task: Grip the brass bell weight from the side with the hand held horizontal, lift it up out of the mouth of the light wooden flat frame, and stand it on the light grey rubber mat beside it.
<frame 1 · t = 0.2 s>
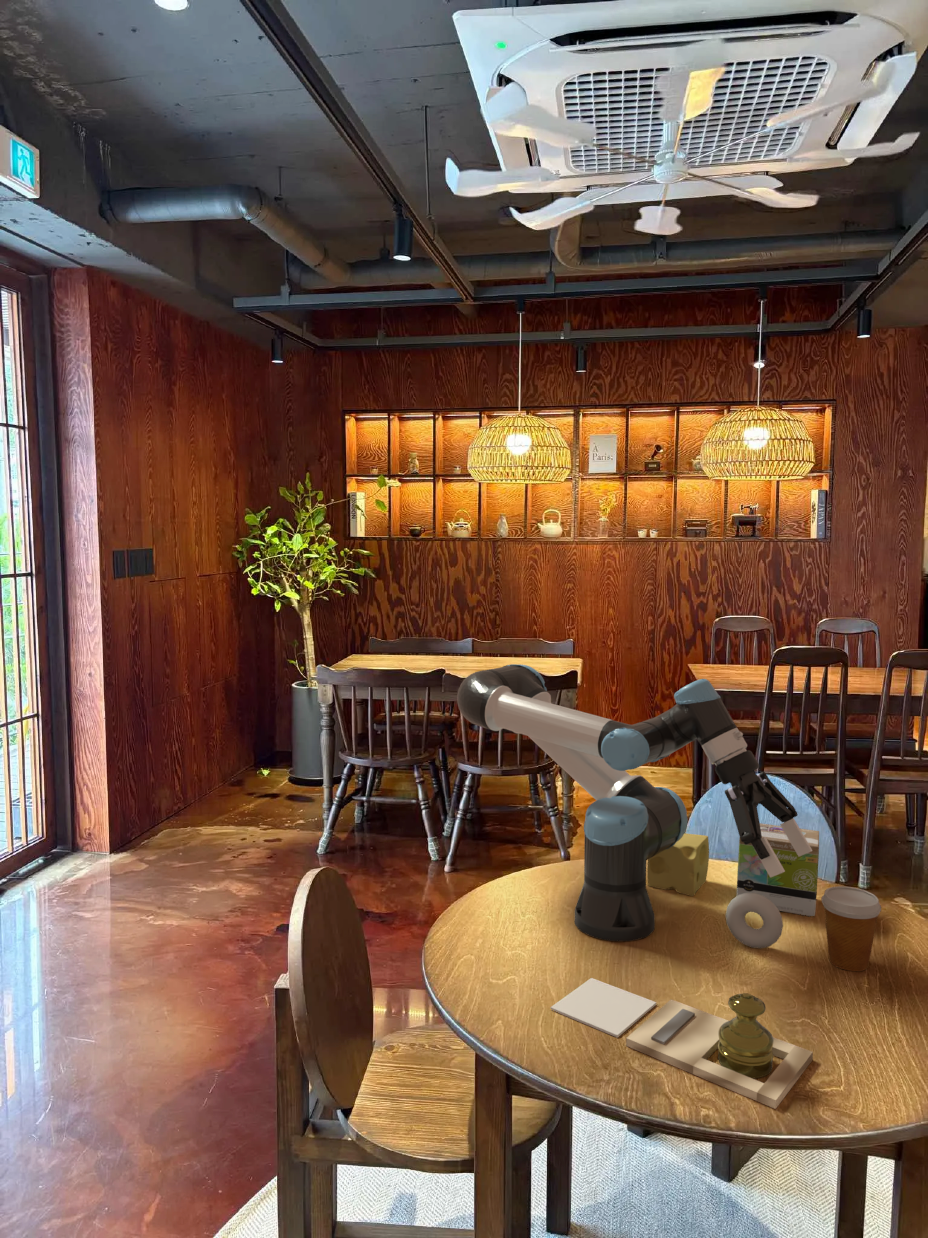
hand: (792, 864, 158), 15 cm above the table, tool tilted 35°, fingers open, 13 cm apart
mat: (603, 1007, 139), on the table
light wooden flat frame: (718, 1053, 127), on the table
brass bell weight: (744, 1065, 124), resting in light wooden flat frame
disposable coffee cup: (848, 963, 153), on the table
tea box: (776, 903, 178), on the table
donut: (753, 948, 159), on the table
cheese: (676, 884, 188), on the table
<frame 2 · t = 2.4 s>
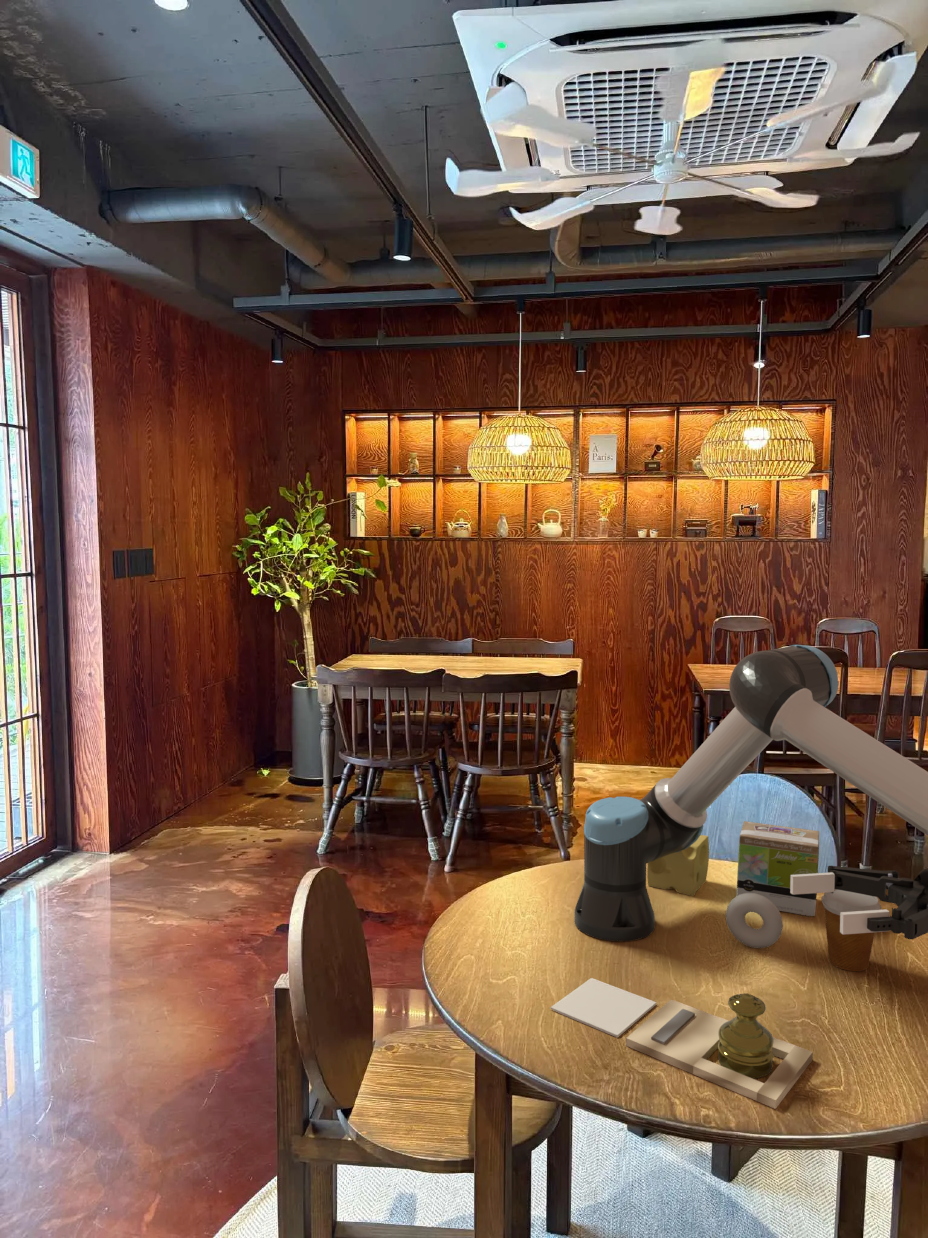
hand: (814, 903, 123), 23 cm above the table, tool horizontal, fingers open, 13 cm apart
nothing on the table moved.
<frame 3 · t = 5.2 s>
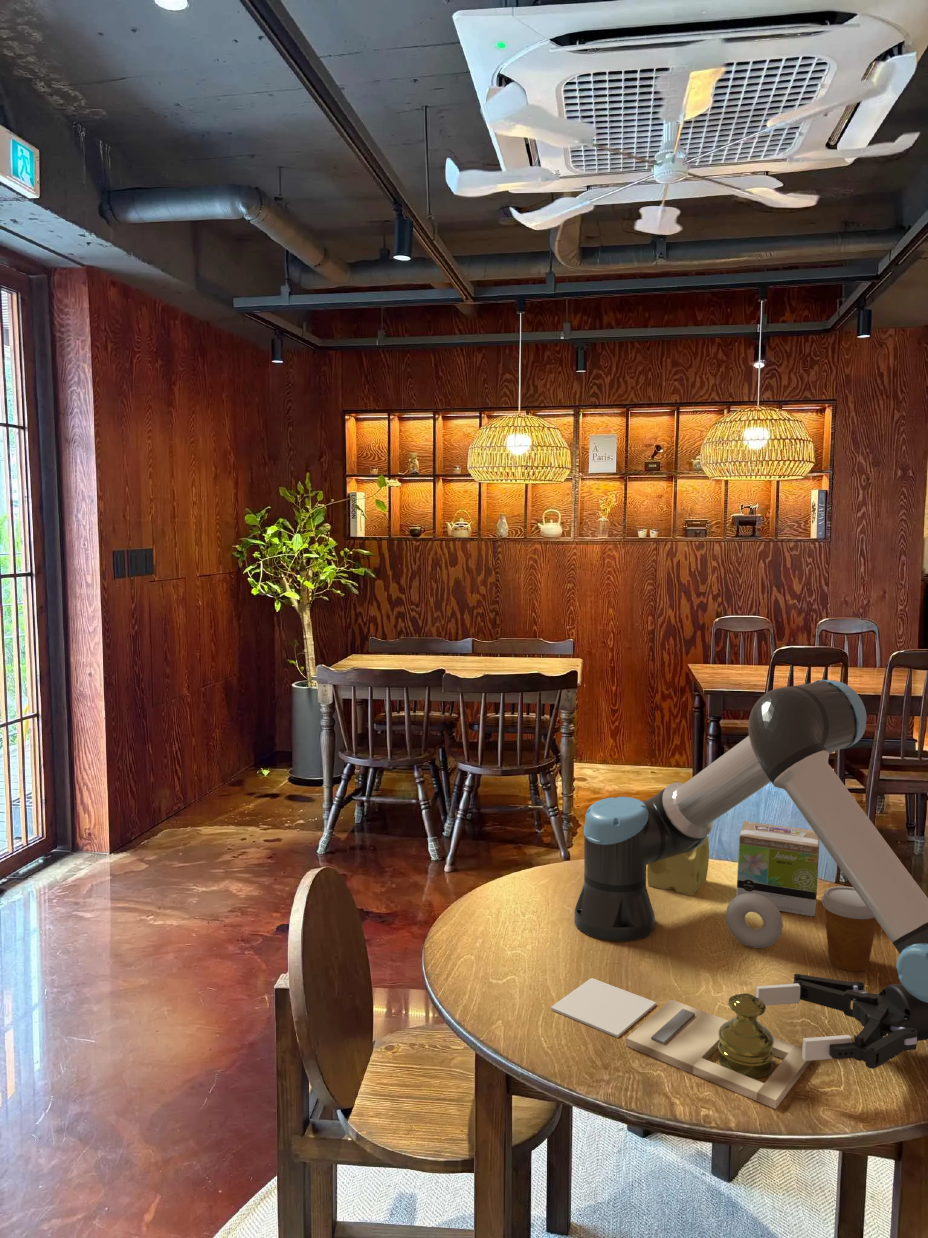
hand: (778, 1021, 123), 6 cm above the table, tool horizontal, fingers open, 13 cm apart
nothing on the table moved.
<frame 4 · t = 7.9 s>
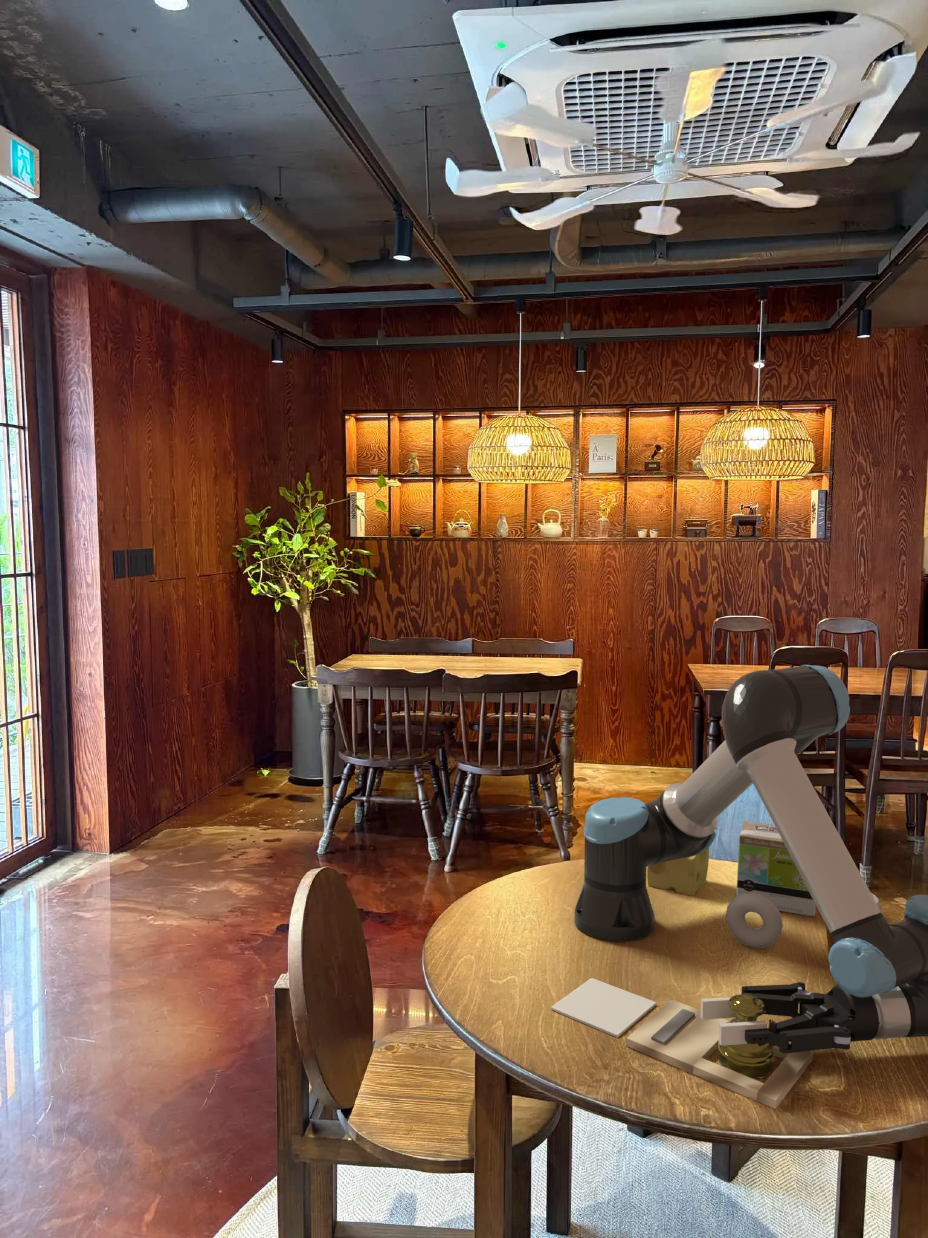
hand: (710, 1021, 123), 7 cm above the table, tool horizontal, fingers closed on brass bell weight, 6 cm apart
brass bell weight: (745, 1065, 124), resting in light wooden flat frame, touching gripper
everything else where it was.
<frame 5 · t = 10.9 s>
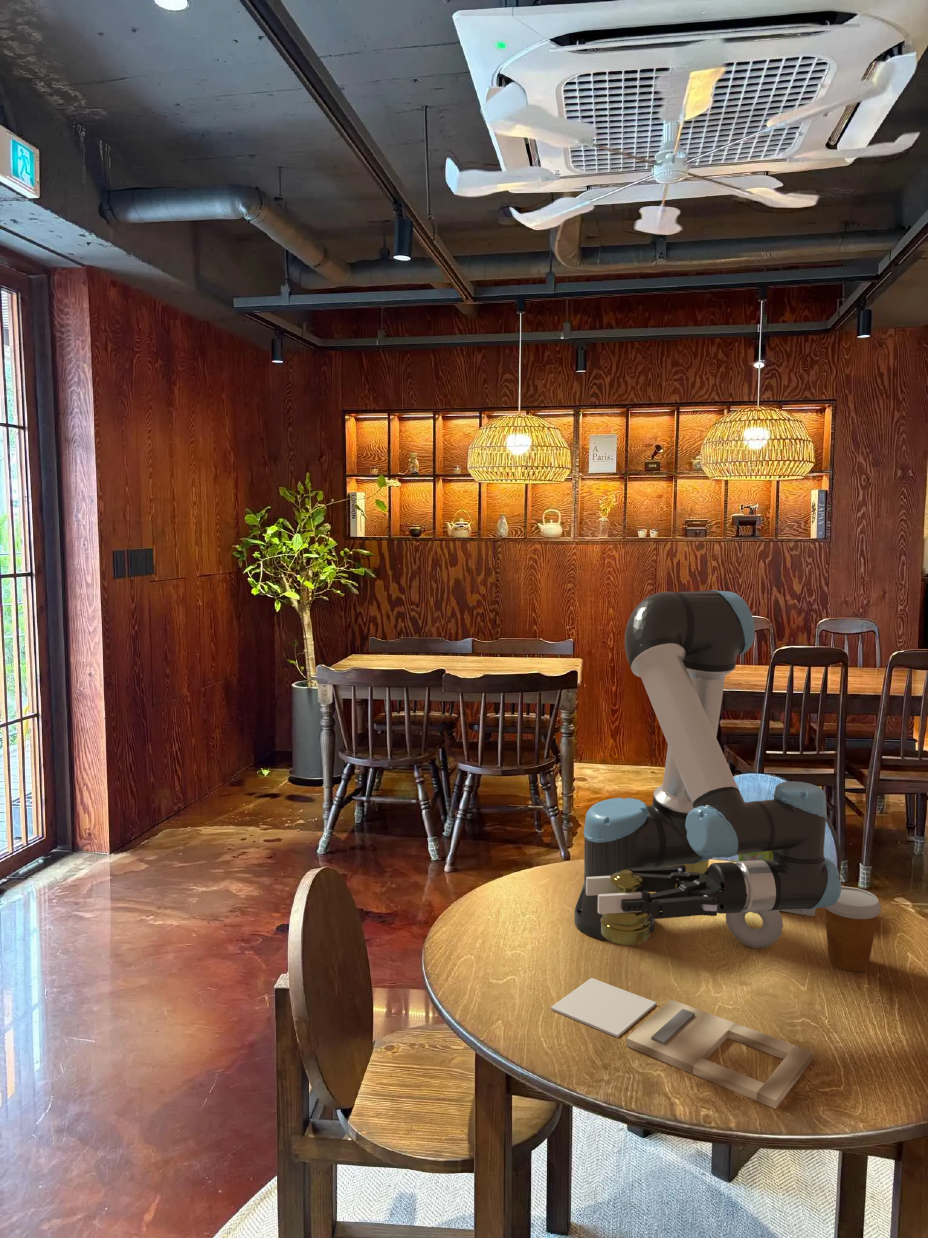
hand: (592, 895, 133), 20 cm above the table, tool horizontal, fingers closed on brass bell weight, 6 cm apart
brass bell weight: (625, 936, 134), point 13 cm above the table, touching gripper
everything else where it was.
when the fingers open (8 cm above the table, at t = 14.2 s): brass bell weight drops 1 cm, resting on mat.
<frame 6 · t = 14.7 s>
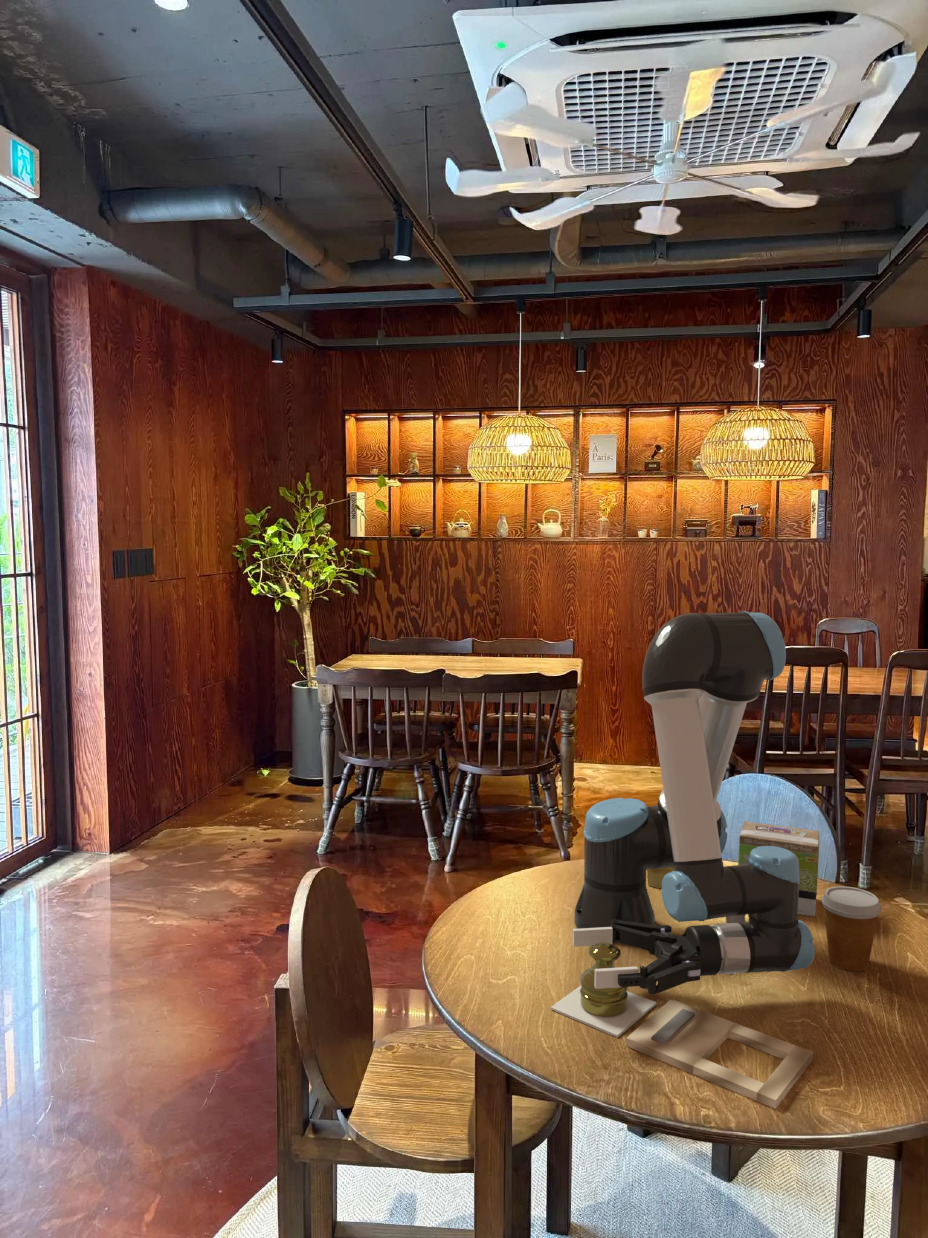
hand: (583, 957, 138), 8 cm above the table, tool horizontal, fingers open, 13 cm apart
brass bell weight: (603, 1006, 139), resting on mat
everything else where it was.
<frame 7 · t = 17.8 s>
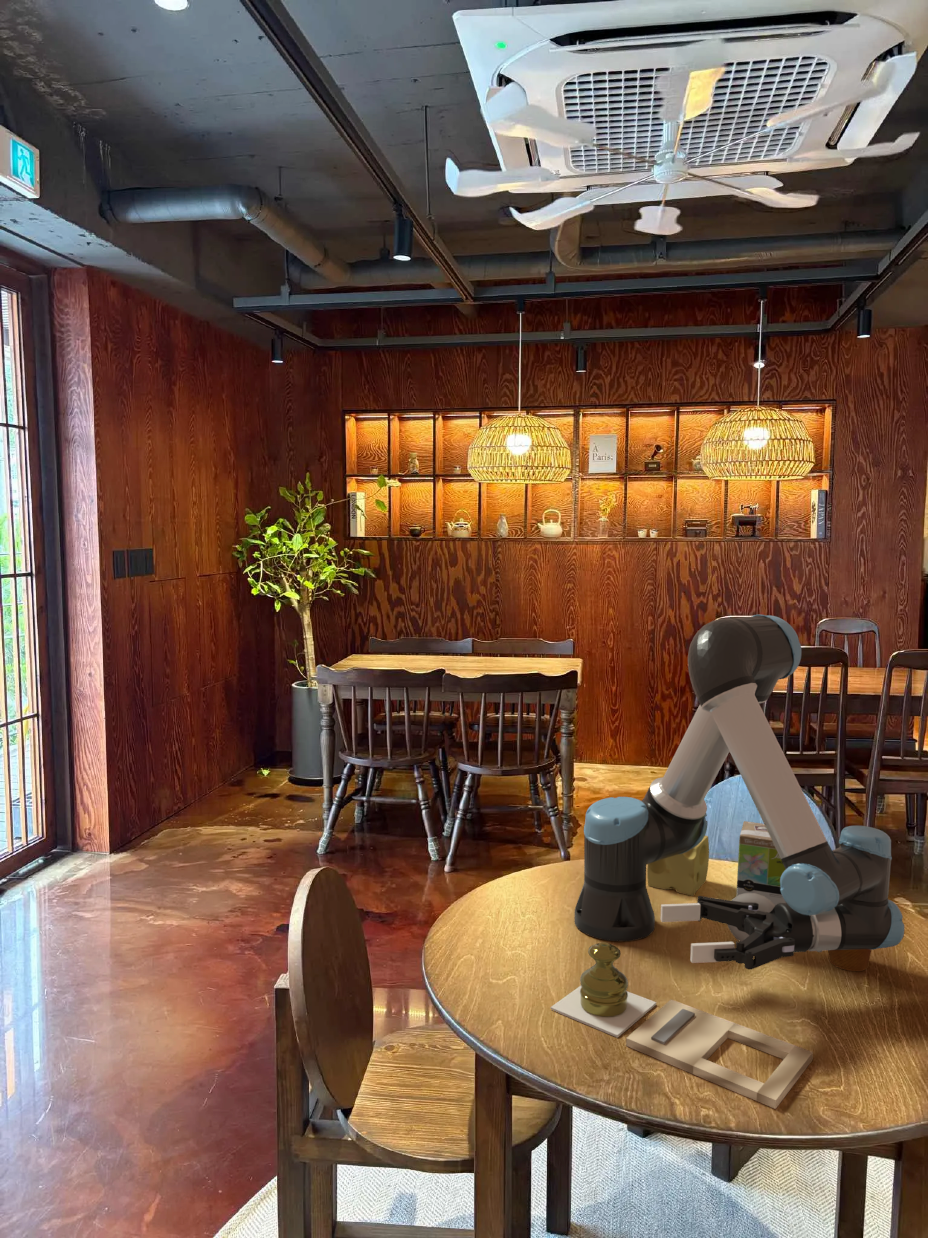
hand: (675, 932, 139), 12 cm above the table, tool horizontal, fingers open, 13 cm apart
nothing on the table moved.
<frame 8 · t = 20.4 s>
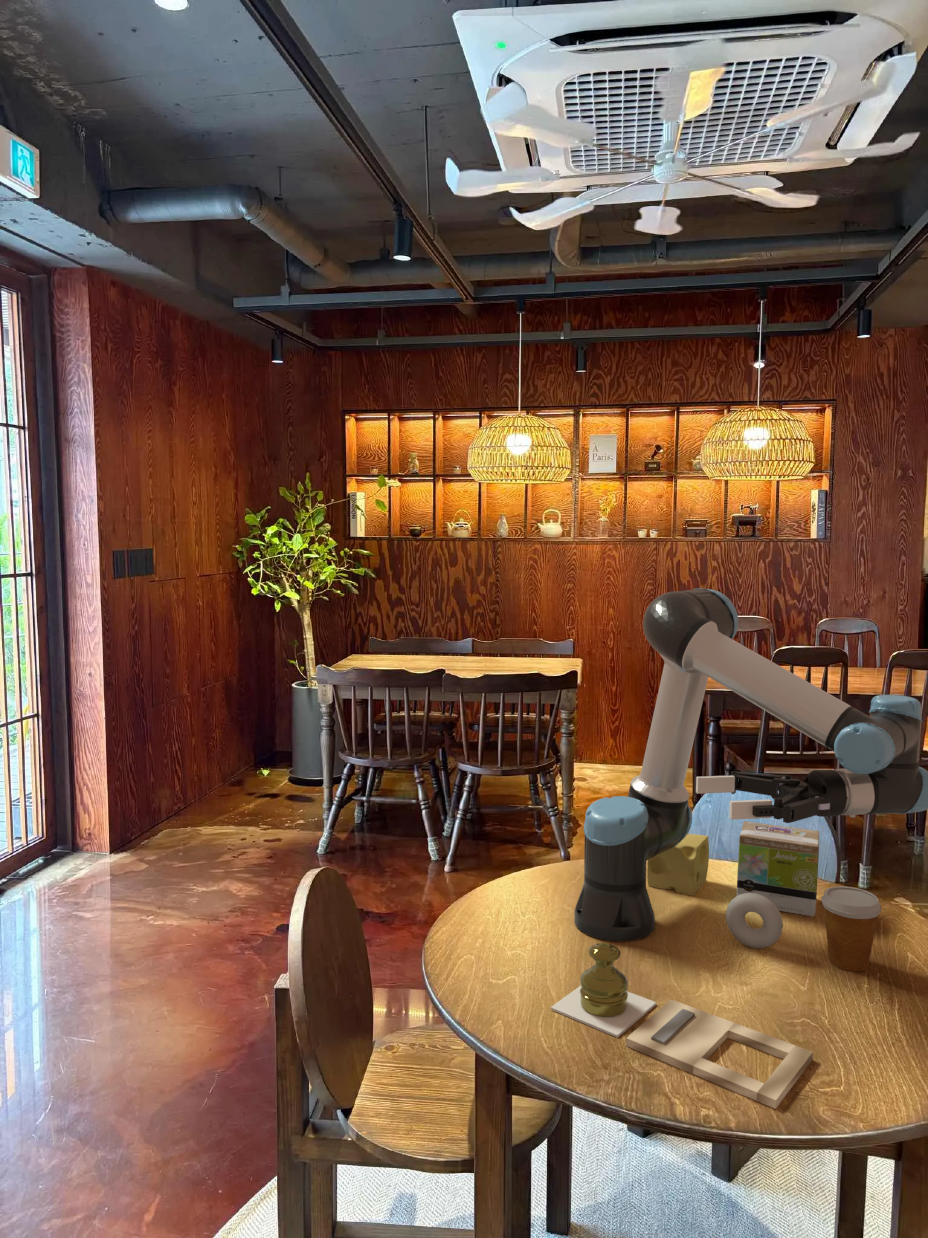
hand: (712, 797, 142), 32 cm above the table, tool horizontal, fingers open, 13 cm apart
nothing on the table moved.
at the end: brass bell weight inside the target area on the mat (0.2 cm from its centre), point 0.2 cm above the mat's base; brass bell weight tilted 0°; the gripper is holding nothing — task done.
